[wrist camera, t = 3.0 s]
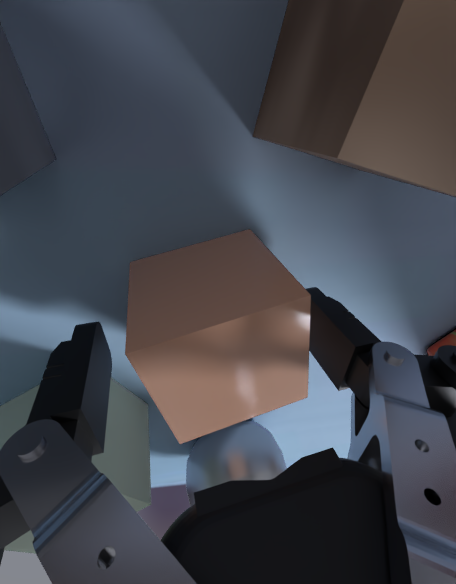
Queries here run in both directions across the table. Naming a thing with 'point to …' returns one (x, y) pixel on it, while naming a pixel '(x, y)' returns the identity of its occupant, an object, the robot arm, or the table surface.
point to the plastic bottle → (233, 457)
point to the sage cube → (117, 449)
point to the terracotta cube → (217, 333)
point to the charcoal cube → (18, 125)
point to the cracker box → (443, 343)
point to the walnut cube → (367, 87)
